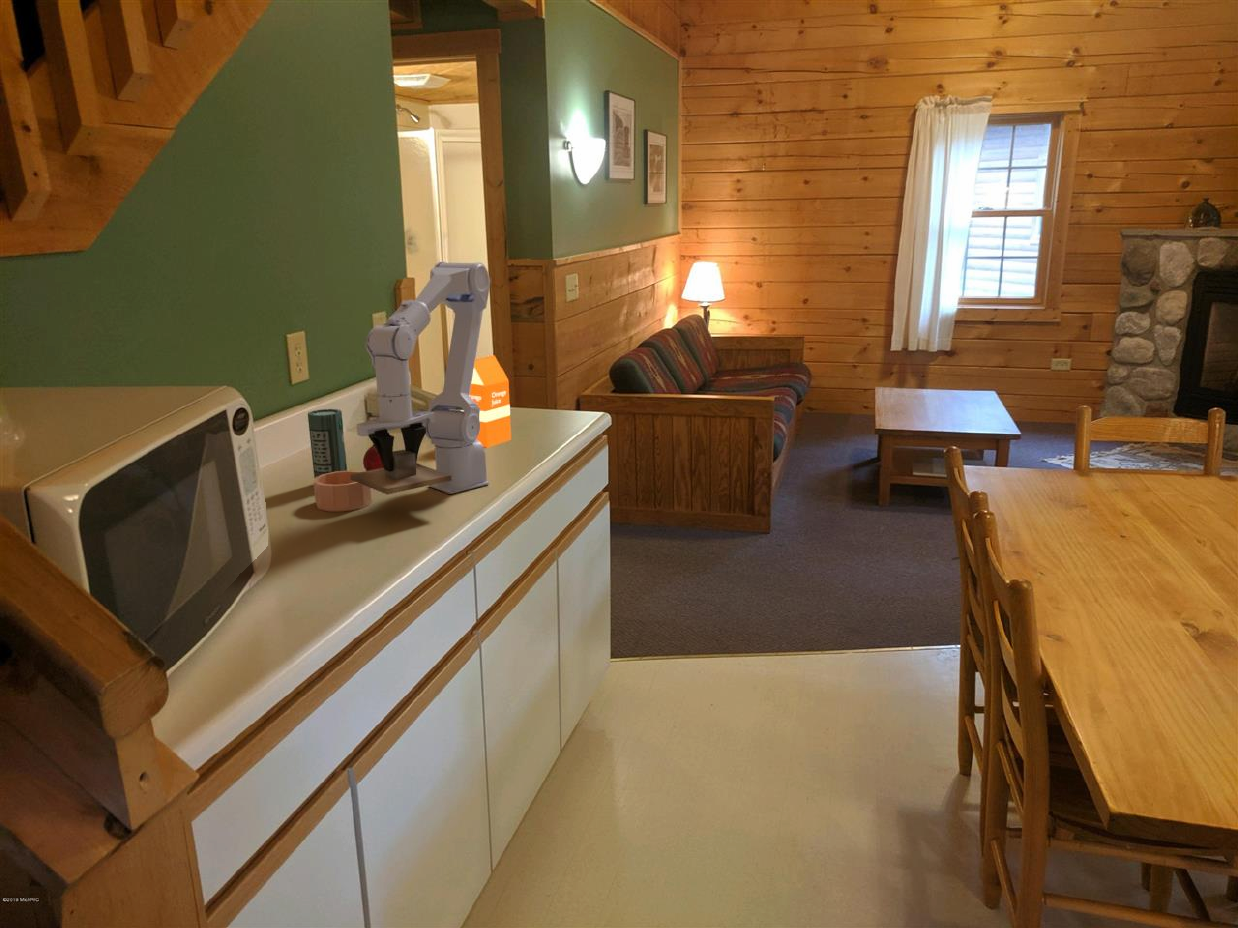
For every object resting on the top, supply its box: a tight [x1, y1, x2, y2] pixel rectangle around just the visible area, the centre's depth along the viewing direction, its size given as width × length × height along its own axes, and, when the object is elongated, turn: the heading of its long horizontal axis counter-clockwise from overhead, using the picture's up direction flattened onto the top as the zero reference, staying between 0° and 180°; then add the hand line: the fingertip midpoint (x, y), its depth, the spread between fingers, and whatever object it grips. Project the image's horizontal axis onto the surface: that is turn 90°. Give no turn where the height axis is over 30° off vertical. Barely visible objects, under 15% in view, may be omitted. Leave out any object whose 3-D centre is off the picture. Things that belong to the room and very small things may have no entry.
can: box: [307, 408, 348, 480], centre depth 184 cm, size 6×6×15 cm
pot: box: [313, 469, 373, 513], centre depth 174 cm, size 10×10×5 cm
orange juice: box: [460, 355, 512, 448], centre depth 216 cm, size 8×9×20 cm
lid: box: [350, 449, 452, 495], centre depth 166 cm, size 13×13×5 cm
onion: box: [362, 443, 384, 471], centre depth 189 cm, size 6×6×8 cm
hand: (400, 467), depth 166 cm, fingers closed on lid, 4 cm apart
